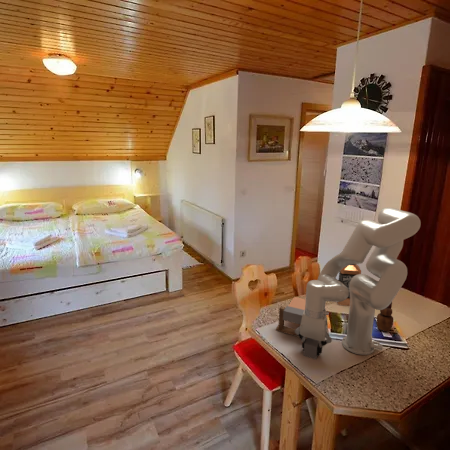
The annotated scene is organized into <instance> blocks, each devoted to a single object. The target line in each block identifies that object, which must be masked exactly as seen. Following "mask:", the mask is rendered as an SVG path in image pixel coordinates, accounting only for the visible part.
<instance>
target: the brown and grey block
mask: <svg viewBox="0 0 450 450" xmlns="http://www.w3.org/2000/svg"><path fill="white" fill-rule="evenodd" d="M305 302H306V298H303V297H302V298H301V297H298V296H297V297H296V296H294V297H293V298H292V300H291V301H290V303H289V304H288V305H287V306H285V309H284V311H283V320H285V321H286V322H289V323H294V324H297V325H301V319H302V315H303V312H304V310H305ZM285 321H284V322H285Z"/></svg>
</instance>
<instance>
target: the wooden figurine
mask: <svg viewBox="0 0 450 450" xmlns="http://www.w3.org/2000/svg"><path fill="white" fill-rule="evenodd" d="M392 306H393V301H392V302H391V304H390V305H389V306H388V307H387V308H385V309H383V310H379V313H378V314H377V315H376V326H377V329H378V330H380V329H381V330H380V331H382V330H384V331H383V332H389V331H391V330H392V327H393V325H394V317H393V316H392V315H393V309H392Z"/></svg>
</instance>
